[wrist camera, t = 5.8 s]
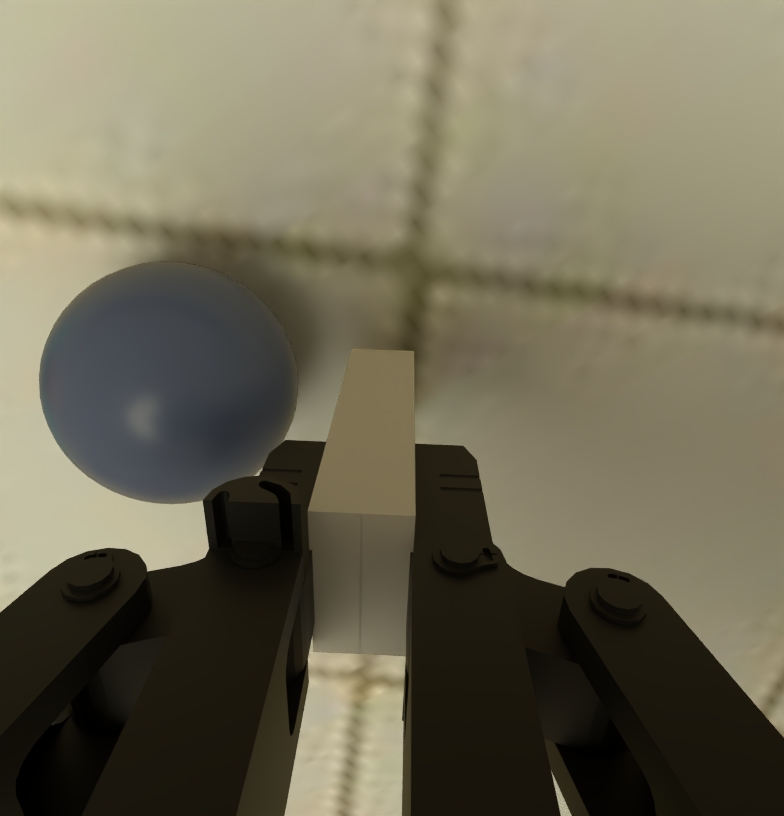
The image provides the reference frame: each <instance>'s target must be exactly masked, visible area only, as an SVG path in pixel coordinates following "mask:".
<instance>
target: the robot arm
mask: <svg viewBox="0 0 784 816" xmlns="http://www.w3.org/2000/svg"><path fill="white" fill-rule="evenodd" d="M203 506H204V513H205V520H206V528H207V535H208V543H209V550H208V552H207V555H206V557H205V558H203V559H201V560H199V561H196V562H193V563H189V564H185V565H181V566H176V567H171V568H165V569H160V570H154V571H148V572H147V567H146V564H145V563H144V561H143V560H142V559H141V557H140V556H139V555H138V554H135V553H133V552H131V551H129V550H126V549H116V548H105V549H99V550H93V551H87V552H85V553H82V554H80V555H77V556H74V557H72V558H69V559H67V560H65V561H64V562H62V563H61V564H59V565H58V566H56V567H55V568H53V569H52V570H50V571H49V572H48V573H47V574H45V575H44V576H43V577H42V578H41V579H39V580H38V581H37V582H36V583H35V584H34V585H32V586H31V587H30V588H29V589H28V590H26V591H25V592H24V593H23V594H22V595H20V596H19V597H18V598H17V599H16V600H15V601H13V602H12V603H11V604H10V605H9V606H7V607H6V608H5V609H4V610H3V611H2V612H0V816H284V814H285V809H286V804H287V798H288V793H289V787H290V782H291V776H292V771H293V765H294V760H295V754H296V749H297V744H298V738H299V733H300V727H301V722H302V716H303V711H304V705H305V700H306V694H307V689H308V683H309V678H308V654H309V649H310V644H311V639H312V635H313V652H331V653H352V654H373V655H393V656H406V665H405V682H404V699H403V716H402V721H404V731H403V790H402V816H561V815H560V810H559V806H558V801H557V796H556V792H555V787H554V782H553V778H552V773H553V775H554V777H555V779H556V782H557V784H558V786H559V788H560V790H561V793H562V795H563V797H564V799H565V802H566V804H567V806H568V808H569V810H570V813H571V815H572V816H784V738H783V737H782V735H781V734H780V733H779V732H778V731H777V730H776V728H775V727H774V726H773V725H772V724H771V723H770V721H769V720H768V719H767V718H766V717H765V716H764V714H763V713H762V712H761V711H760V710H759V708H758V707H757V706H756V705H755V704H754V703H753V701H752V700H751V699H750V698H749V697H748V696H747V694H746V693H745V692H744V691H743V690H742V689H741V687H740V686H739V685H738V684H737V683H736V682H735V680H734V679H733V678H732V677H731V676H730V675H729V673H728V672H727V671H726V670H725V669H724V668H723V666H722V665H721V664H720V663H719V662H718V661H717V659H716V658H715V657H714V656H713V655H712V654H711V652H710V651H709V650H708V649H707V648H706V647H705V645H704V644H703V643H702V642H701V641H700V640H699V638H698V637H697V636H696V635H695V634H694V633H693V631H692V630H691V629H690V628H689V627H688V626H687V624H686V623H685V622H684V621H683V620H682V619H681V617H680V616H679V615H678V614H677V613H676V611H675V610H674V609H673V608H672V607H671V606H670V604H669V603H668V602H667V601H666V600H665V599H664V597H663V596H662V595H660V594H659V593H658V592H657V591H656V590H655V589H654V588H652V587H651V586H650V585H649V584H648V583H646V582H644V581H642V580H640V579H638V578H637V577H635V576H633V575H631V574H629V573H625V572H621V571H617V570H614V569H610V568H589V569H586V570H583V571H580V572H576V573H575V574H574V575H573V576H572V577H571V578H570V579H569V580H568V581H567V582H566V586H565V587H562V586H558V585H555V584H551V583H548V582H544V581H541V580H537V579H535V578H532V577H529V576H527V575H524V574H522V573H521V572H519V571H517V570H515V569H513V568H512V567H511V566H509V565H508V564H507V563H506V560H505V558H504V556H503V554H502V552H501V550H500V549H499V548H498V547H497V546H496V545H494V544H493V542H492V537H491V532H490V527H489V522H488V517H487V512H486V506H485V501H484V496H483V492H482V486H481V481H480V479H479V470H478V465H477V460H476V459H475V458H474V457H473V456H472V455H471V454H470V453H469V451H468V450H467V449H466V448H465V447H464V446H455V445H431V444H415V403H414V351H400V350H376V349H352V350H351V354H350V358H349V361H348V365H347V369H346V372H345V376H344V380H343V383H342V387H341V391H340V394H339V398H338V402H337V405H336V409H335V412H334V416H333V420H332V423H331V427H330V431H329V434H328V438H327V442H318V441H295V440H285V441H284V442H282V443H281V444H280V445H279V446H277V447H276V448H275V449H274V450H272V451H271V452H270V453H269V455H268V457H267V459H266V461H265V464H264V466H263V470H262V471H261V473H260V475H259V476H248V477H242V478H238V479H235V480H231V481H227V482H225V483H223V484H222V485H220V486H218V487H216V488H214V489H213V490H211V492H210V493H209V494H208V495H207V496H206V497H205V498H204V499H203ZM551 771H552V773H551Z"/></svg>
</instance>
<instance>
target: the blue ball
mask: <svg viewBox="0 0 784 816" xmlns="http://www.w3.org/2000/svg"><path fill="white" fill-rule="evenodd" d="M39 385H40V399H41V404H42V409H43V413H44V416H45V418H46V421H47V424H48V426H49V428H50V431H51V432H52V434H53V436H54V438H55V440H56V442H57V444H58V445H59V447H60V448H61V449H62V451H63V452H64V454H65V455H66V456H67V457H68V458H69V459H70V461H71V462H72V463H73V464H74V465H75V466H76V467H77V468H78V469H79V470H81V471H82V472H83V473H84V474H85V475H87V476H88V477H89V478H91V479H92V480H94V481H95V482H97V483H98V484H100V485H102V486H104V487H105V488H107V489H109V490H111V491H113V492H116V493H118V494H121V495H123V496H126V497H129V498H133V499H136V500H140V501H145V502H152V503H160V504H182V503H191V502H197V501H202V500H203V499H204V498H205V497H206V496H207V495H208V494H209V493H210V492H211V490H213V489H214V488H216V487H218V486H220V485H222V484H223V483H225V482H227V481H231V480H235V479H238V478H242V477H248V476H254V475H255V474H256V473H257V472H258V471H259V470H260V469H261V468H262V467H263V466H264V464H265V461H266V459H267V457H268V455H269V453H270V452H271V451H272V450H274V449H275V448H276V447H277V446H279V445H280V444H281V443H282V442H283V440H284V439H285V436H286V434H287V432H288V430H289V427H290V425H291V423H292V420H293V416H294V413H295V409H296V403H297V395H298V373H297V366H296V360H295V357H294V354H293V350H292V347H291V344H290V341H289V339H288V337H287V335H286V333H285V330H284V328H283V327H282V325H281V324H280V322H279V320H278V319H277V317H276V316H275V315H274V313H273V312H272V311H271V310H270V309H269V307H268V306H267V305H266V304H265V303H264V302H263V301H262V300H261V299H260V298H259V297H258V296H257V295H256V294H255V293H253V292H252V291H250V290H249V289H248V288H246V287H245V286H244V285H242V284H241V283H239V282H237V281H236V280H234V279H232V278H230V277H228V276H227V275H224V274H222V273H219V272H217V271H215V270H212V269H209V268H205V267H201V266H198V265H194V264H187V263H180V262H153V263H144V264H139V265H135V266H131V267H127V268H124V269H122V270H119V271H117V272H114V273H112V274H109V275H107V276H105V277H103V278H101V279H100V280H98V281H96V282H94V283H93V284H91V285H90V286H89V287H87V288H86V289H85V290H84V291H82V292H81V293H80V294H78V296H77V297H76V298H75V299H74V300H73V301H72V302H71V303H70V304H69V305H68V306H67V307H66V308H65V309H64V310H63V312H62V313H61V315H60V316H59V318H58V319H57V321H56V322H55V324H54V326H53V328H52V330H51V332H50V334H49V336H48V339H47V341H46V344H45V347H44V350H43V354H42V358H41V363H40V372H39Z"/></svg>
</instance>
